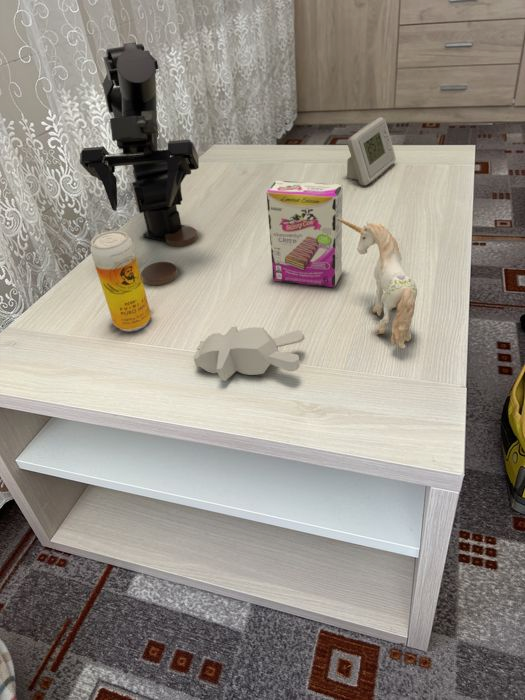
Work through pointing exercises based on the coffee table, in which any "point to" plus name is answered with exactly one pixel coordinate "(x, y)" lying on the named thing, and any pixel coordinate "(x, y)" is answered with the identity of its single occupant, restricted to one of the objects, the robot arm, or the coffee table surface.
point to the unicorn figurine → (389, 281)
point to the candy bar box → (305, 232)
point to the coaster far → (182, 237)
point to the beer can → (121, 280)
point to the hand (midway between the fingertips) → (141, 208)
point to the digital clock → (370, 152)
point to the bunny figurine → (246, 352)
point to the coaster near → (159, 273)
